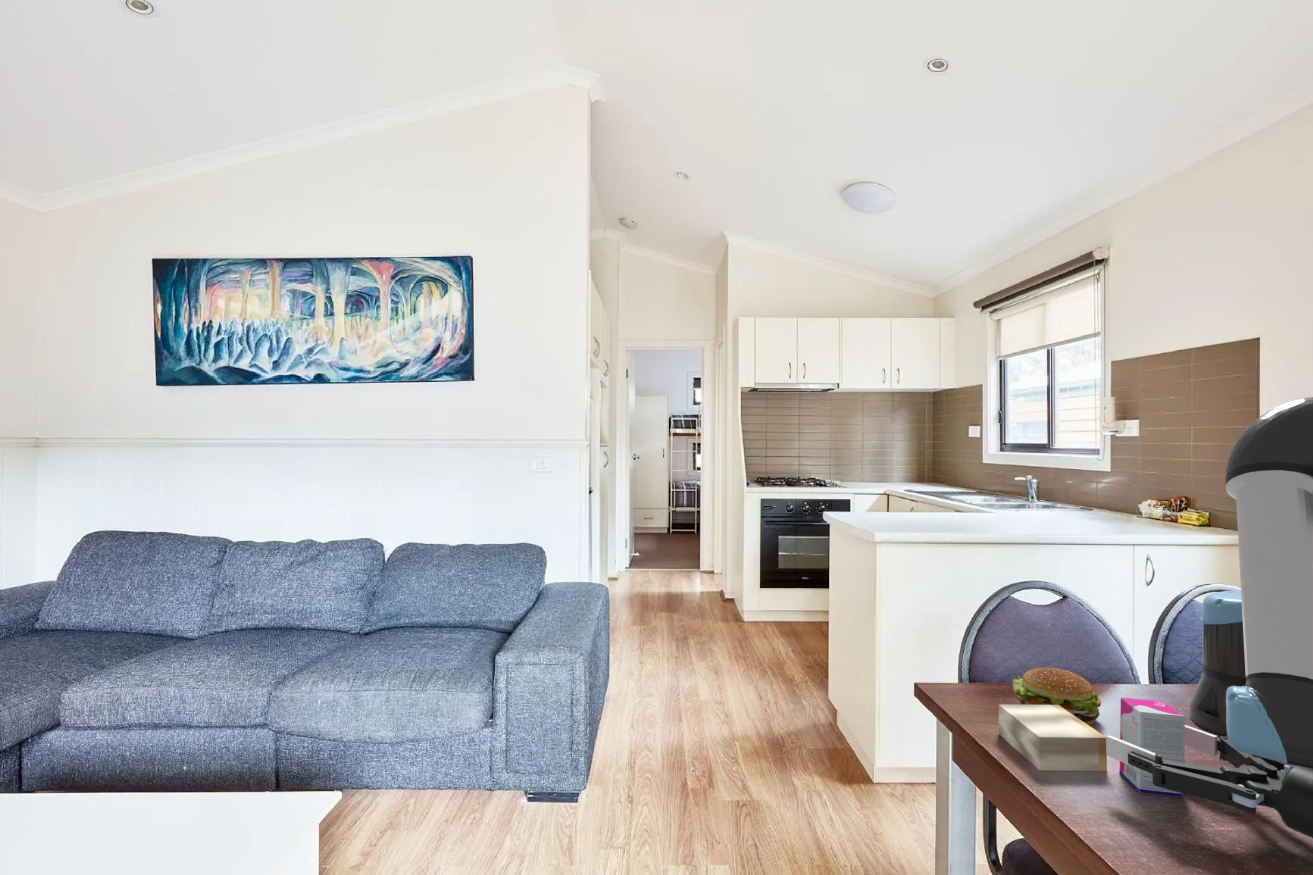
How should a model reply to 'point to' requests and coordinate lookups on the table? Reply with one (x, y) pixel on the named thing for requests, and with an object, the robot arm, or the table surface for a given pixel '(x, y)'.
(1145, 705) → the supplement box
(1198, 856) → the table surface
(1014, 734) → the block
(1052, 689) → the food
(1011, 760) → the table surface
